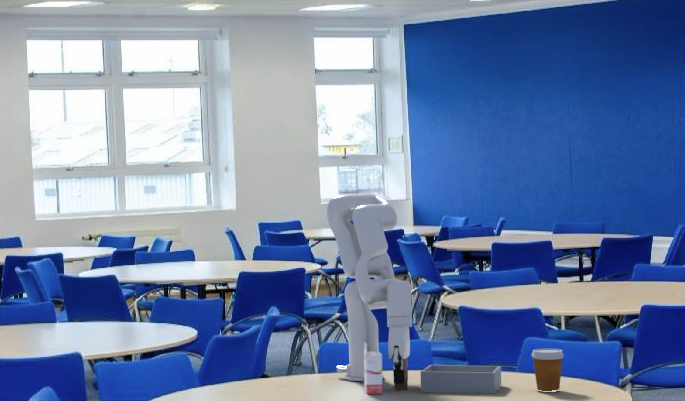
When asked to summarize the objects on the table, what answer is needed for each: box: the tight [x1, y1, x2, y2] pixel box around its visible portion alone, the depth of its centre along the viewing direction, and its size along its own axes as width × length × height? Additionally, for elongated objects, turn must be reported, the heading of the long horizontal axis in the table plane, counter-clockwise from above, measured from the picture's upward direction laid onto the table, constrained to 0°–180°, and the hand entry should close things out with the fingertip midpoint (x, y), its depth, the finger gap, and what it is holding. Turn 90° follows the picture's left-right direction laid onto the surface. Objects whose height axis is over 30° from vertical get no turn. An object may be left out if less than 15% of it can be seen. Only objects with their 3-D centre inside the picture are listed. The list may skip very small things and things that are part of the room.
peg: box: [393, 357, 409, 391], centre depth 369 cm, size 4×4×10 cm
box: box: [420, 364, 502, 394], centre depth 367 cm, size 22×14×6 cm, turn 75°
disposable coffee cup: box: [530, 348, 565, 391], centre depth 359 cm, size 10×10×12 cm
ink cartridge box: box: [363, 343, 384, 395], centre depth 365 cm, size 9×5×15 cm, turn 5°
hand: (400, 381), depth 369 cm, fingers closed on peg, 4 cm apart
